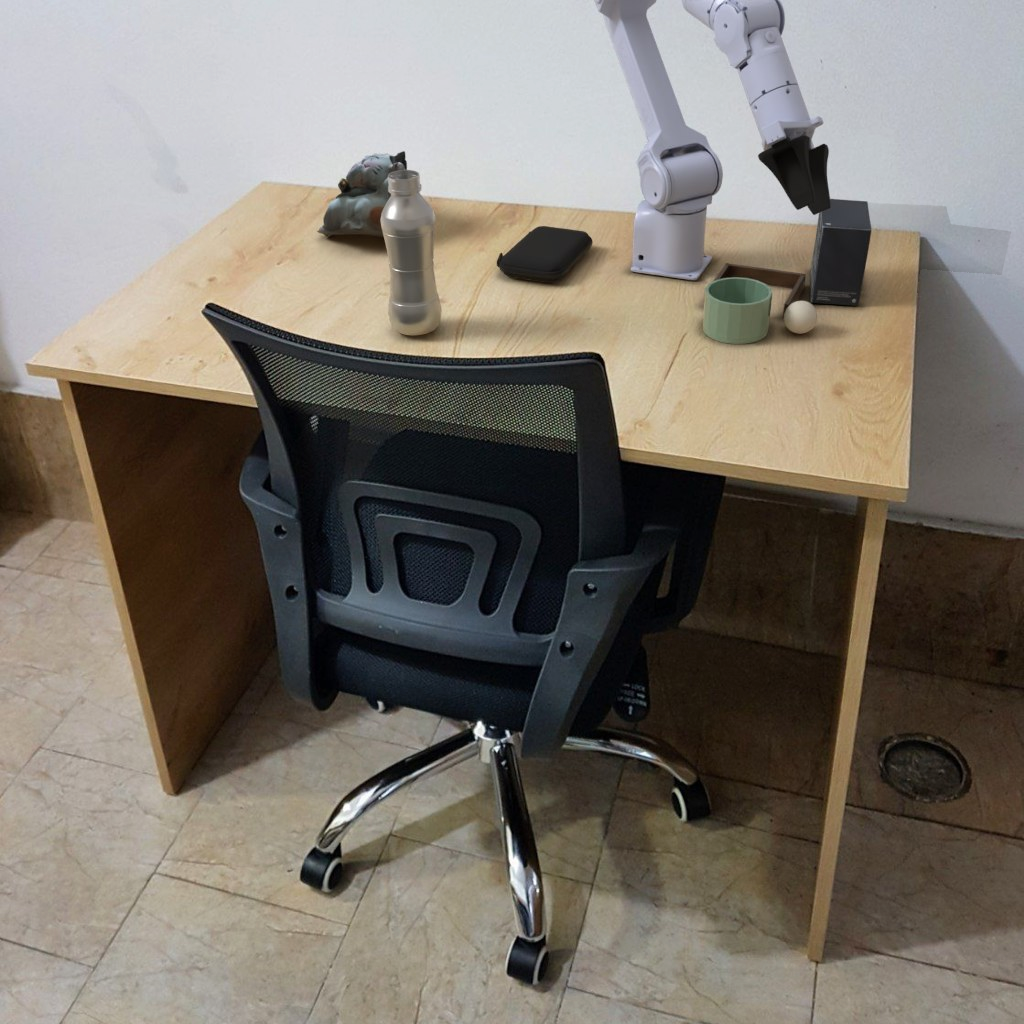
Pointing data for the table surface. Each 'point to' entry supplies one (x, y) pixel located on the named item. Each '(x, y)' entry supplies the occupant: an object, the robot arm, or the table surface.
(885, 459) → the table surface
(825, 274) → the small box
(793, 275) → the bar
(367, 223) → the lucky cat figurine
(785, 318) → the off-white sphere
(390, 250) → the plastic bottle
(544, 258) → the carrying case
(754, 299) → the waste bin
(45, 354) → the table surface
